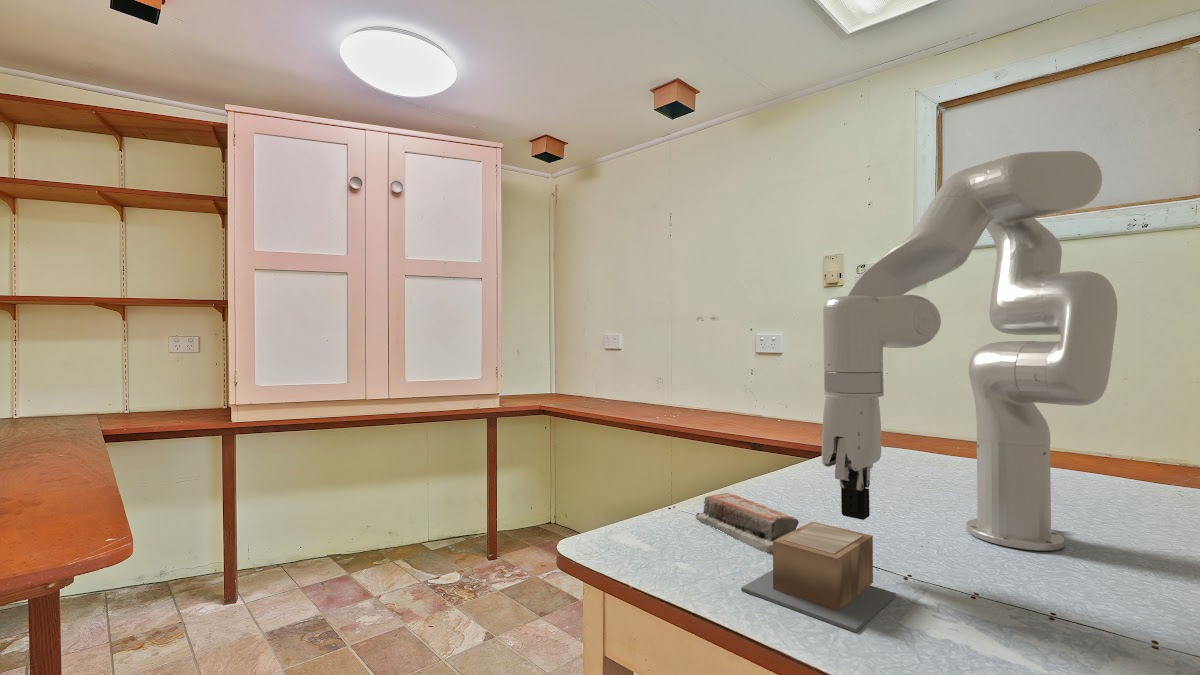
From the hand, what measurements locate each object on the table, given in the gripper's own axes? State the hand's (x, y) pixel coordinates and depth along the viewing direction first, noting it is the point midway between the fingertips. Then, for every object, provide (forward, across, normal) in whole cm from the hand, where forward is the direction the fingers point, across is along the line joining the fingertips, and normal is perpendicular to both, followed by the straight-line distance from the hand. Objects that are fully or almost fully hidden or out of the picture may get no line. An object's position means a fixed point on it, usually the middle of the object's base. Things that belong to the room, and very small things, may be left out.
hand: (855, 516), depth 76 cm
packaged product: (+8, -3, -18) cm, 20 cm away
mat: (+7, +12, 0) cm, 14 cm away
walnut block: (+4, +4, 0) cm, 6 cm away
